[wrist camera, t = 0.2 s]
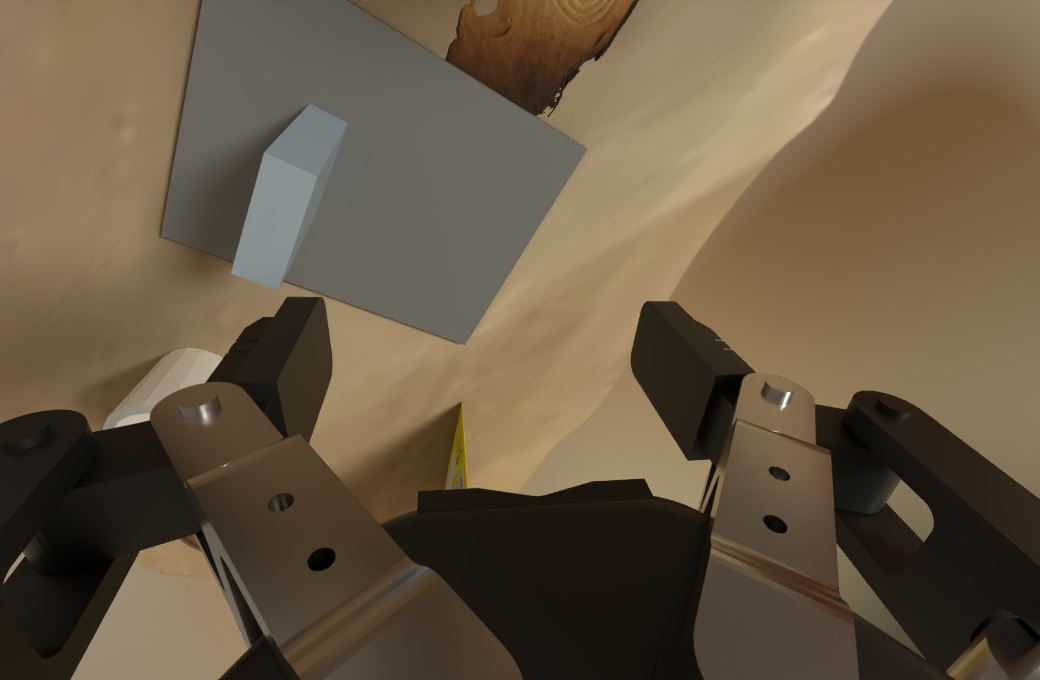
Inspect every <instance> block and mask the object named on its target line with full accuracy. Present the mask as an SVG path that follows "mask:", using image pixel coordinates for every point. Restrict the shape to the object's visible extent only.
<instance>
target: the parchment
mask: <svg viewBox="0 0 1040 680" xmlns="http://www.w3.org/2000/svg"><path fill="white" fill-rule="evenodd" d="M638 1H639V0H498V5H497V10H495V11H494V12H492V13H491V14H489V15H486V16H479V17H477V16H476V13H475V9H474V4H475V0H471V2H470V4H466V5H465V6H464V7H463V9H462V11H461V12H460V16H459V21H458V26H457V28H456V33H457V38H456V39H455V40H454V41H453V42H452V43H451V44H450V47H449V50H448V54H447V57H446V59H445V60H446V61H447V62H449V63H450V64H452V65H454V66H455V67H457V68H458V69H460V70H462V71H463V72H465V73H466V74H468V75H470V76H471V77H473V78H474V79H476V80H478V81H479V82H481V83H482V84H484V85H486V86H487V87H489V88H490V89H492V90H493V91H495V92H497V93H498V94H500V95H501V96H503V97H505V98H506V99H508V100H509V101H511V102H513V103H514V104H516V105H517V106H519V107H521V108H522V109H524V110H526V111H527V112H529V113H531V114H533V115H534V116H537V115H538V114H542V113H543V110H545V109H546V108H547V106H550V107H551V108H553V107H554V108H553V110H552V112H553V111H554V109H555V107H556V106H557V105H558V103H559V101H560V99H561V97H562V92H563V90H564V89H565V87H566V85H567V84H568V82H570V81H571V80H572V79H573V78H574V77H575V76H576V74H577V73H578V72H580V71H579V67H580V66H582V64H583V63H584V62H586V61H588V60H591V59H592V58H593V57H594V56H597V57H596V59H595V61H597V60H598V59H599V58H600V56H602V55H603V54H604V53H605V52H606V50H607V49H608V47H609V46H610V45H611V43H612V41H613V40H614V37H615V36H616V34H617V33H618V31H619V30H620V28H621V27H622V25H623V24H624V23H625V22H626V20H627V19H628V17H629V16H630V14H631V13H632V11H633V9H634V8H635V6H636V4H637V2H638ZM560 87H561V90H559V89H560ZM558 92H559V93H560V96H559V97H555V96H556V94H557V93H558ZM555 98H556V99H557V102H555ZM552 112H551V113H552ZM544 113H545V112H544ZM551 113H550V114H551ZM550 114H549V115H550ZM549 115H548V117H549Z"/></svg>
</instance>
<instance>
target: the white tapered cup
mask: <svg viewBox="0 0 1040 680" xmlns="http://www.w3.org/2000/svg"><path fill="white" fill-rule="evenodd" d="M222 359H223V358H222V357H220V356H219V355H217V354H214V353H211V352H209V351H206V350H203V349H194V348H184V349H178V350H173V351H172V352H170V353H168V354H167V355H165V356H163V358H162V359H161V360H160V361H159V362H158V363H157V364H156V365H155V366H154V367H153V368H152V369H151V371H150V372H149V373H148V374H147V375H146V376H145V377H144V378H143V379H142V380H141V381H140V383H139V384H138V385H137V386H136V387H135V388H134V389H133V390H132V391H131V392H130V393H129V394H128V396H127V397H126V398H125V399H124V400H123V401H122V402H121V403H120V404H119V405H118V406H117V407H116V409H115V410H114V411H113V412H112V413H111V414H110V415H109V416H108V417H107V419H106V422H105V424H104V426H103V428H102V430H106V429H111V428H116V427H120V426H125V425H130V424H135V423H140V422H144V421H148V420H150V413H151V411H152V409H153V408H154V406H155V405H156V404H157V403H158V402H159V401H161V400H162V399H163V398H165V397H166V396H168V395H170V394H172V393H174V392H176V391H178V390H180V389H183V388H186V387H189V386H193V385H197V384H202V383H205V382H206V381H207V379H208V378H209V377H210V375H211V374H212V373H213V371H214V370H215V368H216V367H217V366H218V364H219V363H220V362H221V360H222Z"/></svg>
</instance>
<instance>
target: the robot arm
mask: <svg viewBox="0 0 1040 680" xmlns="http://www.w3.org/2000/svg"><path fill="white" fill-rule="evenodd" d="M631 367H632V372H633V375H634V376H635V378H636V379H637V381H638V383H639V384H640V386H641V387H642V389H643V391H644V392H645V394H646V395H647V397H648V398H649V400H650V402H651V403H652V405H653V406H654V408H655V410H656V411H657V413H658V414H659V416H660V417H661V419H662V421H663V422H664V424H665V425H666V427H667V428H668V430H669V432H670V433H671V435H672V436H673V438H674V440H675V441H676V442H677V444H678V446H679V447H680V449H681V450H682V452H683V454H684V455H685V457H686V458H687V460H688V461H689V460H711V462H712V464H711V466H710V469H709V472H708V474H707V478H706V481H705V486H704V489H703V492H702V496H701V500H700V503H699V507H698V510H696V509H693V508H691V507H689V506H687V505H684V504H681V503H678V502H675V501H673V500H669V499H665V498H661V497H656V496H653V495H652V493H651V491H650V489H649V487H648V485H647V483H646V481H645V479H628V480H611V481H593V482H589V483H585V484H582V485H579V486H575V487H571V488H568V489H565V490H561V491H558V492H554V493H551V494H547V495H543V496H529V495H522V494H515V493H508V492H501V491H495V490H488V489H481V488H469V489H451V490H433V491H418V509H417V510H416V511H412V512H409V513H406V514H403V515H401V516H398V517H396V518H393V519H391V520H389V521H387V522H385V523H383V524H381V525H380V524H379V523H378V522H377V521H376V520H375V519H374V517H373V516H372V515H371V514H370V513H369V512H368V511H367V510H366V508H365V507H364V506H363V505H362V504H361V503H360V502H359V500H358V499H357V498H356V497H355V496H354V495H353V494H352V492H351V491H350V490H349V489H348V488H347V487H346V486H345V485H344V483H343V482H342V481H341V480H340V479H339V478H338V477H337V475H336V474H335V473H334V472H333V471H332V470H331V469H330V467H329V466H328V465H327V464H326V463H325V462H324V461H323V460H322V458H321V457H320V456H319V455H318V454H317V453H316V452H315V450H314V449H313V448H312V447H311V446H310V445H309V442H310V439H311V436H312V433H313V430H314V427H315V424H316V421H317V418H318V415H319V412H320V410H321V407H322V404H323V401H324V398H325V395H326V392H327V389H328V386H329V383H330V380H331V376H332V351H331V343H330V336H329V328H328V321H327V313H326V306H325V302H324V300H323V298H322V297H287V298H286V299H285V301H284V302H283V304H282V305H281V307H280V309H279V310H278V312H277V313H276V315H275V316H274V317H262V318H261V319H259V320H257V321H256V322H254V323H252V324H251V325H249V326H248V327H246V328H245V329H244V330H243V332H242V333H241V334H240V336H239V337H238V339H237V340H236V343H234V344H233V345H232V347H231V348H230V349H229V353H226V355H225V356H224V358H223V359H222V360H221V362H220V363H219V364H218V366H217V367H216V368H215V370H214V371H213V373H212V374H211V375H210V377H209V378H208V379H207V381H206V382H205V383H202V384H197V385H193V386H189V387H186V388H183V389H180V390H178V391H176V392H174V393H172V394H170V395H168V396H166V397H165V398H163V399H162V400H161V401H159V402H158V403H157V404H156V405H155V406H154V408H153V409H152V411H151V413H150V420H148V421H144V422H140V423H135V424H130V425H125V426H120V427H116V428H111V429H106V430H101V431H96V432H92V430H91V428H90V426H89V424H88V422H87V419H86V417H85V416H84V415H83V414H81V413H79V412H76V411H72V410H48V411H41V412H35V413H31V414H27V415H23V416H20V417H17V418H14V419H11V420H8V421H6V422H3V423H1V424H0V680H70V679H71V677H72V676H73V674H74V672H75V670H76V668H77V666H78V664H79V663H80V661H81V659H82V657H83V655H84V653H85V651H86V650H87V648H88V645H89V644H90V642H91V640H92V639H93V637H94V635H95V633H96V631H97V629H98V627H99V625H100V623H101V622H102V620H103V618H104V616H105V614H106V613H107V611H108V609H109V607H110V605H111V603H112V601H113V600H114V598H115V596H116V594H117V592H118V590H119V589H120V587H121V585H122V583H123V581H124V579H125V577H126V576H127V574H128V572H129V570H130V568H131V566H132V564H133V563H134V561H135V559H136V557H137V555H138V553H139V551H140V550H144V549H147V548H150V547H154V546H157V545H160V544H163V543H167V542H170V541H173V540H177V539H180V538H183V537H187V536H190V535H193V534H194V537H195V539H196V541H197V543H198V545H199V547H200V549H201V551H202V553H203V555H204V557H205V559H206V561H207V563H208V565H209V567H210V569H211V571H212V573H213V575H214V577H215V579H216V581H217V583H218V585H219V587H220V589H221V591H222V593H223V595H224V597H225V599H226V601H227V603H228V605H229V607H230V609H231V611H232V613H233V615H234V618H235V620H236V622H237V625H238V627H239V630H240V632H241V634H242V637H243V639H244V641H245V643H246V646H247V648H248V650H247V651H246V652H245V653H244V654H243V655H242V656H241V657H240V658H239V659H238V660H237V661H236V662H235V664H233V666H231V667H230V669H228V670H227V671H226V672H225V673H224V675H223V676H222V677H220V679H219V680H1040V499H1039V498H1037V497H1036V496H1035V495H1034V494H1032V493H1031V492H1029V491H1028V490H1027V489H1026V488H1024V487H1023V486H1022V485H1020V484H1019V483H1018V482H1016V481H1015V480H1014V479H1012V478H1011V477H1010V476H1008V475H1007V474H1006V473H1004V472H1003V471H1002V470H1000V469H999V468H998V467H996V466H995V465H994V464H993V463H991V462H990V461H989V460H987V459H986V458H984V457H983V456H982V455H981V454H979V453H978V452H977V451H975V450H974V449H973V448H971V447H970V446H968V445H967V444H966V443H965V442H963V441H962V440H961V439H959V438H958V437H957V436H956V435H954V434H953V433H952V432H950V431H949V430H948V429H946V428H945V427H944V426H942V425H941V424H940V423H938V422H937V421H936V420H934V419H933V418H932V417H930V416H929V415H928V414H926V413H925V412H924V411H922V410H921V409H920V408H918V407H916V406H915V405H913V404H911V403H909V402H907V401H905V400H903V399H901V398H898V397H895V396H893V395H889V394H886V393H882V392H876V391H859V392H857V393H855V394H854V396H853V398H852V400H851V401H850V403H849V405H848V407H847V409H840V408H834V407H828V406H823V405H817V404H815V400H814V398H813V396H812V395H811V394H810V392H808V391H807V390H806V389H805V388H804V387H802V386H801V385H799V384H797V383H795V382H793V381H792V380H789V379H787V378H784V377H781V376H778V375H774V374H769V373H756V372H755V371H754V370H753V369H752V368H751V367H750V366H749V365H748V364H747V363H746V362H745V361H744V360H742V359H741V358H740V357H739V356H738V355H737V354H736V353H735V352H734V351H733V350H730V347H729V346H728V345H727V344H726V343H725V342H724V341H721V338H720V337H718V335H717V334H716V333H714V332H713V331H712V330H711V329H710V328H708V327H707V326H705V325H703V324H701V323H699V322H698V321H696V320H694V319H693V318H692V317H691V316H690V315H689V314H688V313H687V312H686V311H685V310H684V309H683V308H682V307H681V306H680V305H679V304H678V303H676V302H673V301H647V302H645V303H644V305H643V307H642V309H641V313H640V317H639V321H638V326H637V330H636V335H635V339H634V343H633V348H632V352H631ZM901 479H902V480H903V481H904V482H905V483H906V484H907V485H908V486H909V487H910V488H911V489H912V490H913V491H914V492H915V493H916V494H917V495H919V497H920V498H921V499H923V500H924V501H925V503H927V505H928V506H929V508H930V510H931V512H932V514H933V518H934V528H933V530H932V532H931V534H930V535H929V536H928V538H927V539H926V540H925V542H923V541H922V540H921V539H920V538H919V537H918V536H917V535H916V534H915V533H914V532H913V530H911V528H910V527H909V526H908V525H907V524H906V523H905V522H904V521H903V520H902V519H901V518H900V517H899V516H898V515H897V514H896V513H895V512H894V511H893V510H892V509H891V508H890V506H889V505H888V504H887V503H886V502H887V500H888V499H889V497H890V496H891V494H892V493H893V491H894V489H895V488H896V487H897V485H898V483H899V482H900V480H901ZM836 543H837V544H838V545H839V547H840V548H841V549H842V551H843V552H844V553H845V555H846V556H847V557H848V558H849V560H850V561H851V562H852V564H853V565H854V566H855V567H856V569H857V570H858V571H859V573H860V574H861V575H862V577H863V578H864V579H865V581H866V582H867V583H868V584H869V586H870V587H871V588H872V590H873V591H874V592H875V594H876V595H877V596H878V597H879V599H880V600H881V601H882V603H883V604H884V605H885V607H886V608H887V609H888V610H889V612H890V613H891V614H892V616H893V617H894V618H895V619H896V621H897V622H898V623H899V625H900V626H901V627H902V629H903V630H904V631H905V632H906V634H907V635H908V636H909V638H910V639H911V640H912V642H913V643H914V644H915V645H916V647H917V648H918V649H919V651H920V652H921V653H922V655H923V656H924V657H925V658H926V660H925V659H924V658H922V657H921V656H919V655H918V654H916V653H915V652H913V651H912V650H910V649H909V648H907V647H906V646H904V645H903V644H901V643H900V642H898V641H897V640H895V639H894V638H892V637H891V636H889V635H888V634H886V633H885V632H883V631H882V630H880V629H879V628H877V627H876V626H874V625H873V624H871V623H870V622H868V621H867V620H865V619H863V618H862V617H860V616H859V615H858V614H856V613H854V612H853V611H852V610H851V608H850V606H849V605H848V604H847V603H846V602H845V601H844V600H842V598H841V596H840V592H839V580H838V562H837V546H836ZM22 552H23V553H24V555H25V557H24V558H23V560H22V561H21V562H20V563H19V565H18V566H17V567H16V569H15V570H14V571H13V573H12V574H11V575H10V577H9V578H8V579H7V581H6V582H5V583H4V579H5V577H6V575H7V573H8V571H9V569H10V568H11V566H12V565H13V563H14V562H15V561H16V559H17V558H18V557H19V555H20V554H21V553H22ZM3 583H4V584H3Z"/></svg>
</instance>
